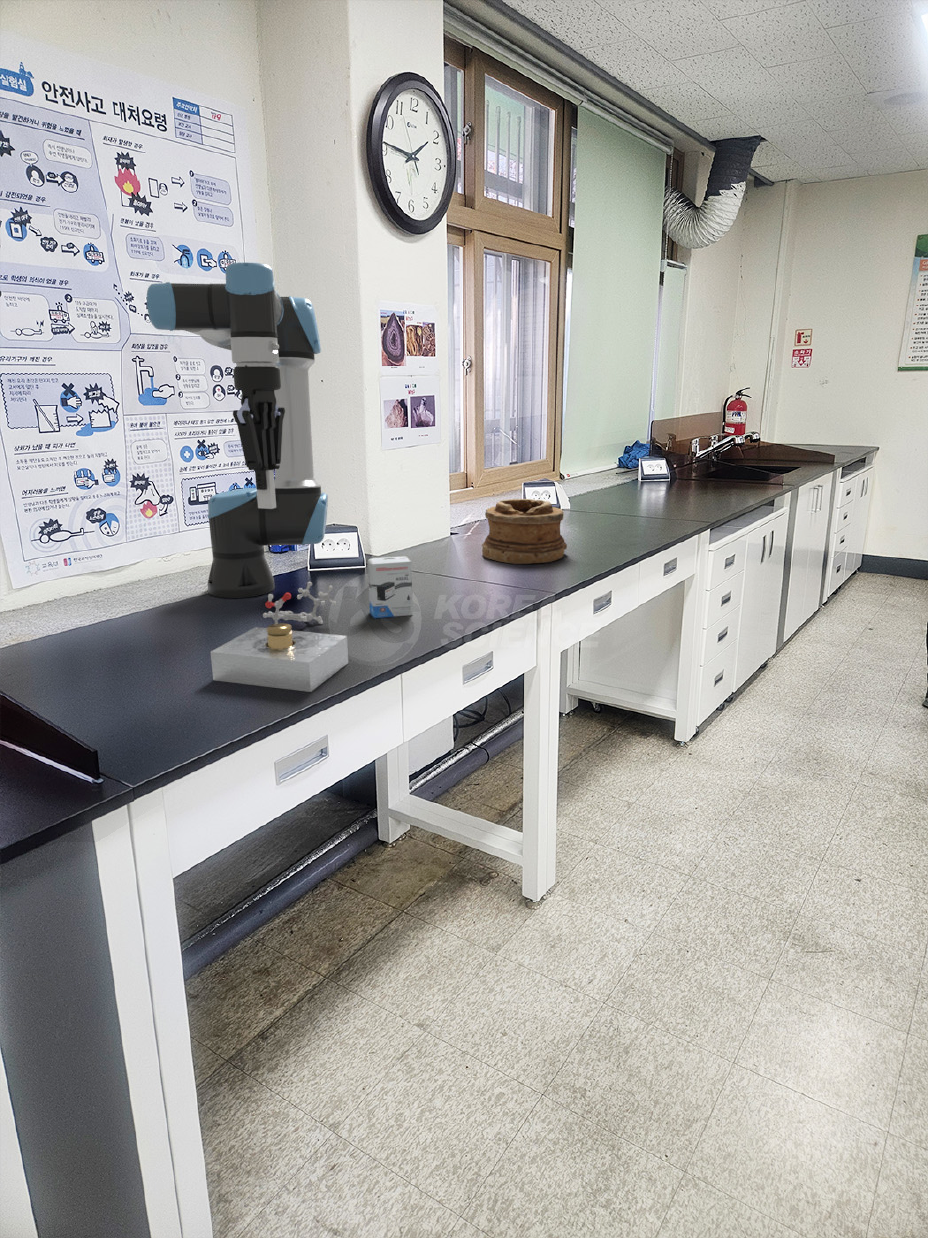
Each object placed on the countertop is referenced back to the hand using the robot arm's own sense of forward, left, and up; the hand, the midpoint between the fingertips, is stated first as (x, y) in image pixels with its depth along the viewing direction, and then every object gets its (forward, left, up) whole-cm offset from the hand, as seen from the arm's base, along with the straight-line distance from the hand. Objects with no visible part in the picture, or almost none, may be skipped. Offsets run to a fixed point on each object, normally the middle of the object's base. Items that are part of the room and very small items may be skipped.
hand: (267, 507), depth 139 cm
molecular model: (-3, +12, -27) cm, 29 cm away
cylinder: (+6, -9, -26) cm, 29 cm away
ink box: (+11, +28, -27) cm, 40 cm away
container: (+25, +91, -27) cm, 98 cm away
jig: (+6, -9, -26) cm, 29 cm away
